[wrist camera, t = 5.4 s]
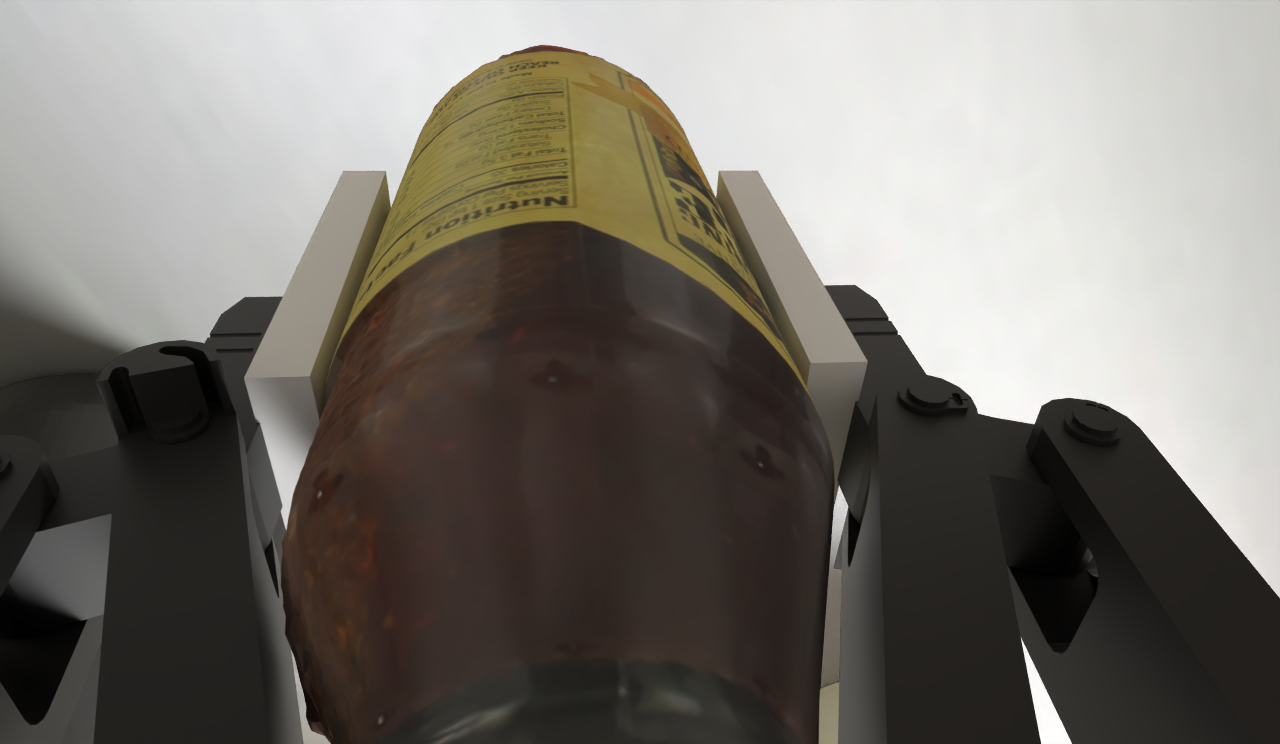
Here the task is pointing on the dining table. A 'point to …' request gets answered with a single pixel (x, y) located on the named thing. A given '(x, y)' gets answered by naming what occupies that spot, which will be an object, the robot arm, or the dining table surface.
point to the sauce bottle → (560, 447)
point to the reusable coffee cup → (829, 714)
